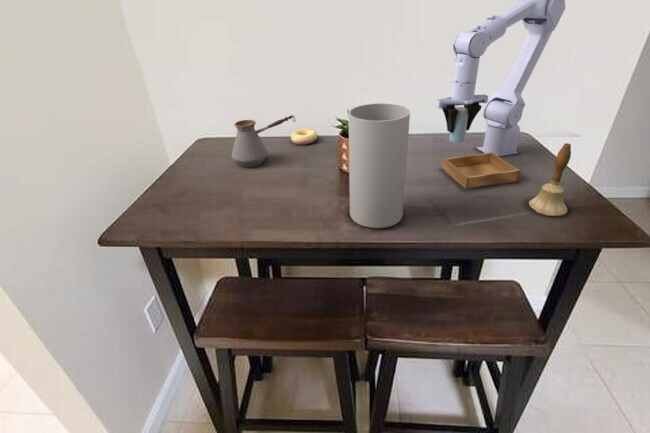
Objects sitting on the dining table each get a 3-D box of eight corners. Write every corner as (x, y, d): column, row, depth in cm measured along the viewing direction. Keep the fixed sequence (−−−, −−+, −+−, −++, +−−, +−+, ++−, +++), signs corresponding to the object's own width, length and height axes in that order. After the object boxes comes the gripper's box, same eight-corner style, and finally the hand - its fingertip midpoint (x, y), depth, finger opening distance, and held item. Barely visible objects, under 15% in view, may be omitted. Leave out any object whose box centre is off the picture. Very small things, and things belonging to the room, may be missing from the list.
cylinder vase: (389, 235, 84) (395, 124, 71) (340, 221, 90) (337, 116, 77) (410, 209, 93) (419, 107, 80) (364, 198, 99) (365, 101, 86)
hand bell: (563, 201, 93) (584, 138, 85) (570, 218, 86) (592, 152, 78) (526, 197, 95) (542, 136, 87) (529, 214, 89) (547, 149, 80)
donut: (289, 150, 136) (312, 148, 132) (285, 138, 133) (309, 136, 129) (299, 136, 143) (322, 134, 139) (295, 125, 140) (319, 123, 136)
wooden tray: (489, 163, 113) (491, 152, 112) (517, 182, 102) (520, 170, 100) (442, 170, 111) (443, 158, 109) (465, 190, 100) (467, 178, 98)
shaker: (459, 136, 112) (464, 105, 108) (467, 141, 109) (472, 110, 104) (446, 138, 112) (449, 107, 107) (453, 143, 108) (457, 111, 103)
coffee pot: (228, 169, 118) (219, 122, 111) (239, 155, 128) (231, 110, 120) (296, 169, 116) (291, 121, 108) (301, 155, 126) (298, 109, 118)
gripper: (447, 87, 97) (441, 138, 104) (498, 81, 100) (488, 131, 107) (434, 81, 103) (429, 130, 110) (482, 76, 105) (475, 124, 113)
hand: (457, 130), depth 109 cm, fingers closed on shaker, 4 cm apart
